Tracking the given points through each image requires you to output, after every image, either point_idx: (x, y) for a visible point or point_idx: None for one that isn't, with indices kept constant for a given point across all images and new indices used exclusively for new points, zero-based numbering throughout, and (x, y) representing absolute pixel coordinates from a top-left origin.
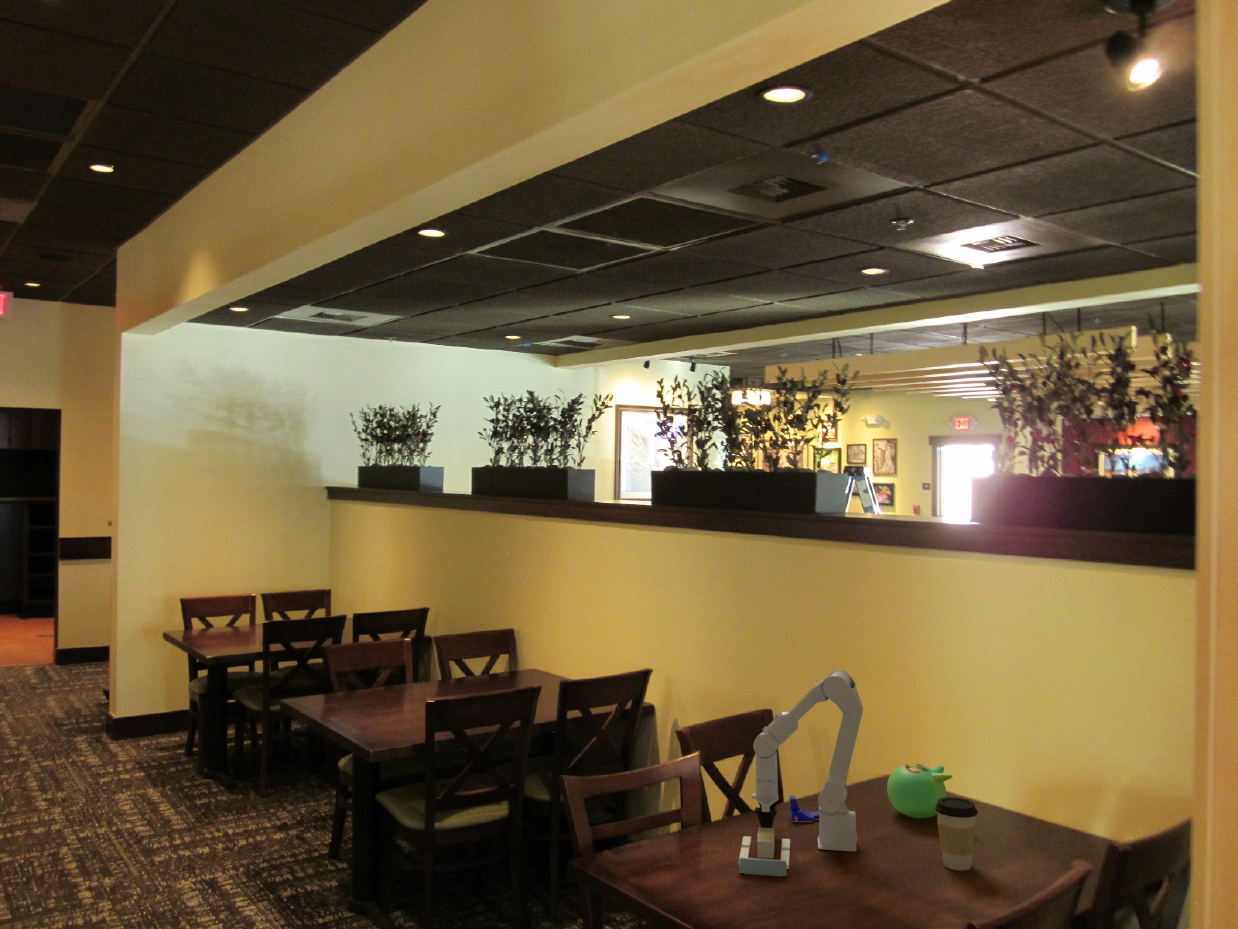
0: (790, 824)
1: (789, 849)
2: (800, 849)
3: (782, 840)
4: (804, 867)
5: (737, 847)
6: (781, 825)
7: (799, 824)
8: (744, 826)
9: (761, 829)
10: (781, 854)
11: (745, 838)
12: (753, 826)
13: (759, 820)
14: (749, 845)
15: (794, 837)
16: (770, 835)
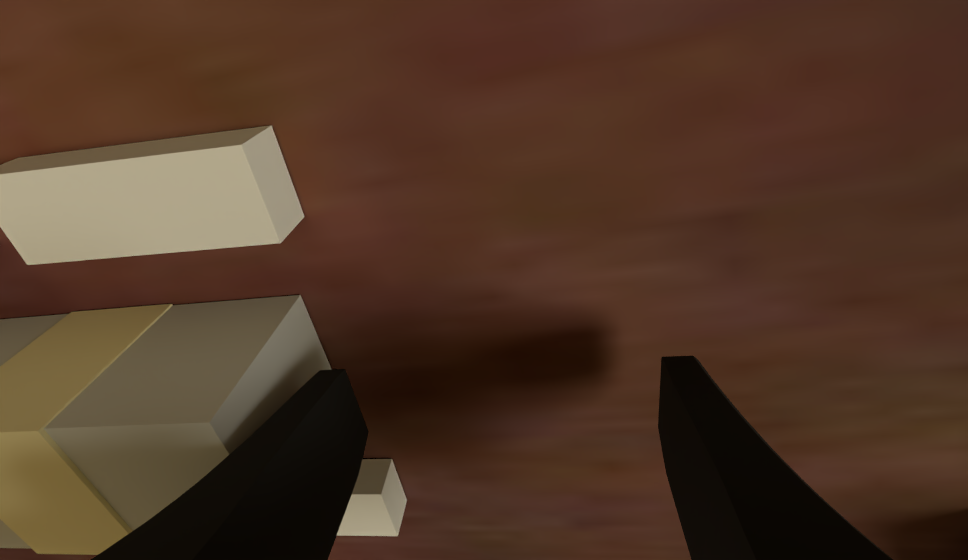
0: (931, 495)
1: None
2: (338, 544)
3: None
4: (76, 554)
5: (39, 92)
6: (905, 436)
7: (922, 546)
8: (898, 15)
9: (158, 456)
10: None
11: (179, 187)
12: (888, 158)
13: (137, 531)
14: (28, 261)
15: (569, 519)
16: (42, 534)
